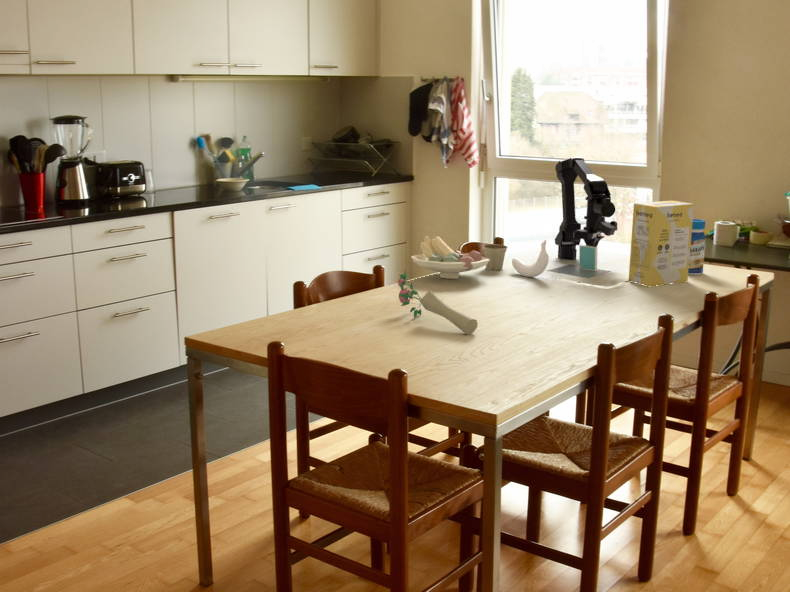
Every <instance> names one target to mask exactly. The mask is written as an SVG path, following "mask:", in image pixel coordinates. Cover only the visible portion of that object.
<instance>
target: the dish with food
mask: <svg viewBox="0 0 790 592" xmlns="http://www.w3.org/2000/svg"><path fill="white" fill-rule="evenodd" d="M423 240H424V242H422V241H421V243H420V245H419V246H420V249H421V252H422V253H420V254H415V255H411V257H410V258H411V259H412V262H413V263H415V264H416V265H418V266H420V267H421V268H424V269H426V270H428V271H433V272H437V273H439V277H440V278H442V279H451V280H452V279H459V278H460V273H465V272H470V271H473V270H474V271H475V270H478V269H480V268H483V267H486V265H487V263H488V262H489V259H487V258H485V256H482V253H481V252H479V251H477V250H471V251H470V252H468V253H460V252H456V251H455V250H453V249H452V248H451V247H450V246H449V245H448V244H447V243H446V242H445V241H444V240H443V239H442V238H441V237H440V236H438V235H435V237H434V238H432V239H431V238H430V236H428V235H425V236H424V238H423Z"/></svg>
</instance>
